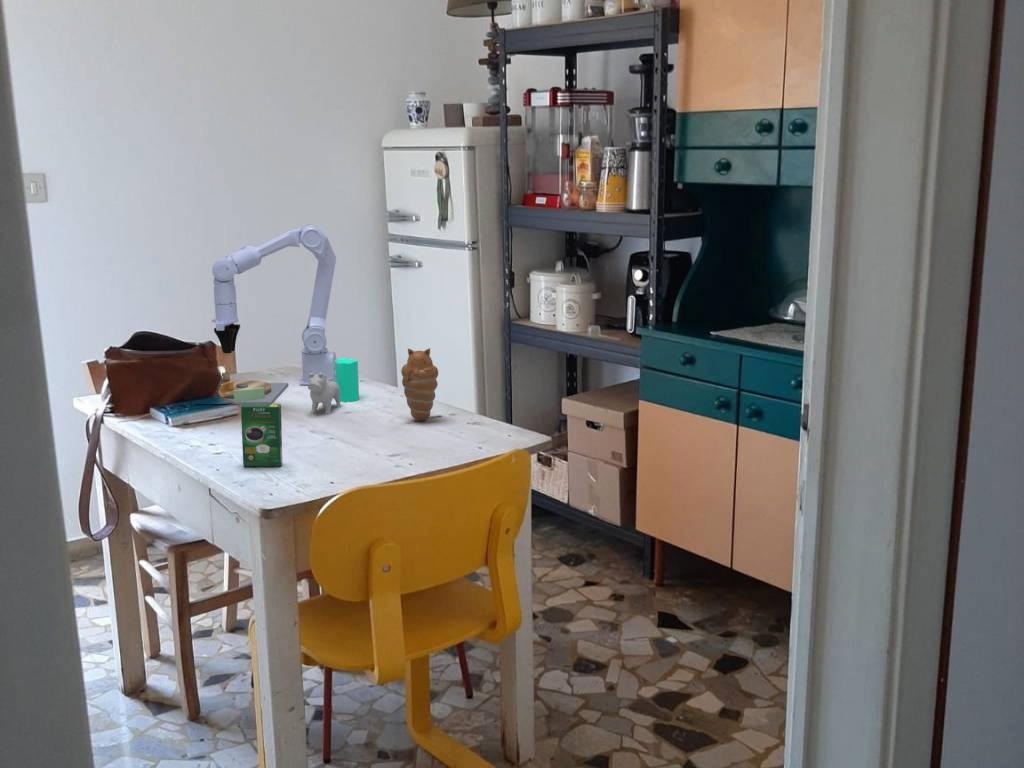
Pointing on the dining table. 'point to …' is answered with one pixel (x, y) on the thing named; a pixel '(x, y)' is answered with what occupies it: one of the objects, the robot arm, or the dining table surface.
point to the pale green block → (249, 394)
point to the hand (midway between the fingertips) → (228, 352)
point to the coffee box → (261, 435)
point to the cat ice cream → (419, 383)
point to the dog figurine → (323, 392)
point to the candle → (347, 379)
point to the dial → (240, 386)
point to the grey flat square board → (266, 395)
